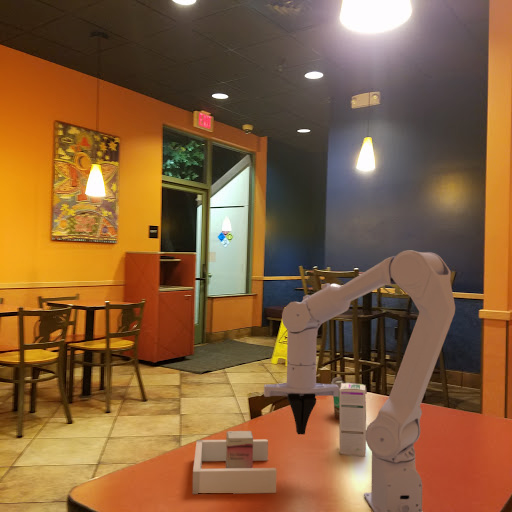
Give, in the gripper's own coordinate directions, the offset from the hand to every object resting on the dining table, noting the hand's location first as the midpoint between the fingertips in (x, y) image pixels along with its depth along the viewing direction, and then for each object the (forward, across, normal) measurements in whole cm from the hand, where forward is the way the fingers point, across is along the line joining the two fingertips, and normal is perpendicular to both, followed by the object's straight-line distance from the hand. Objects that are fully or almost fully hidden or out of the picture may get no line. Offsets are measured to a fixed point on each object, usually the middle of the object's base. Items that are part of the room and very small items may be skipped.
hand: (300, 432), depth 99 cm
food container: (+9, -18, -37) cm, 42 cm away
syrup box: (+9, -14, -13) cm, 21 cm away
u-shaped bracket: (+8, +13, -1) cm, 16 cm away
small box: (+9, +12, -1) cm, 15 cm away
